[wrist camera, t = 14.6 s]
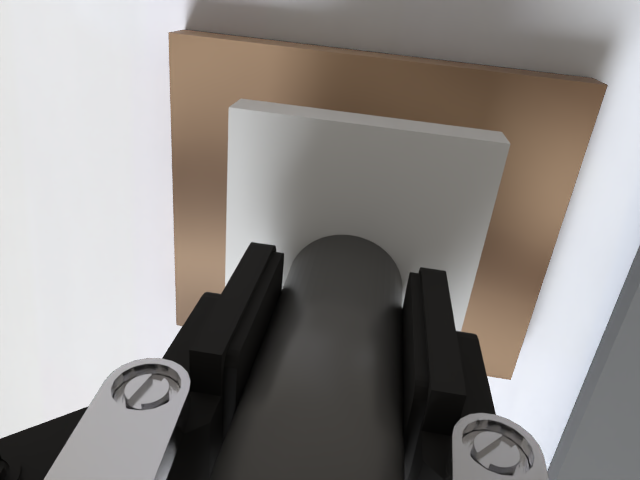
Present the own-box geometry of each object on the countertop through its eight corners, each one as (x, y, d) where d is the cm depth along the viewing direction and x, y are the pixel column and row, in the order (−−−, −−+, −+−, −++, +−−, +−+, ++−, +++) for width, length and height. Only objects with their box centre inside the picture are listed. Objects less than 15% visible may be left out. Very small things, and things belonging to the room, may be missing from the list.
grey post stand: (433, 401, 15) (471, 856, 7) (232, 367, 16) (61, 762, 8) (502, 131, 12) (720, 440, 4) (240, 98, 12) (-56, 310, 4)
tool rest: (504, 357, 19) (510, 379, 18) (188, 307, 20) (176, 324, 19) (592, 77, 15) (607, 85, 14) (184, 29, 16) (168, 32, 15)
